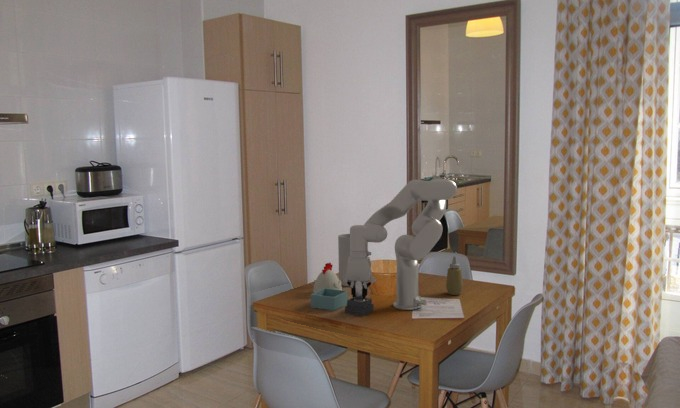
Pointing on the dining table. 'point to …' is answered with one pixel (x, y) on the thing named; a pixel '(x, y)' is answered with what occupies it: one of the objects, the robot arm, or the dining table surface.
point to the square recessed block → (359, 307)
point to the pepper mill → (359, 291)
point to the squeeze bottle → (454, 278)
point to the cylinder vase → (343, 256)
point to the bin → (329, 299)
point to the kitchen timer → (327, 279)
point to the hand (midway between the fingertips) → (359, 296)
